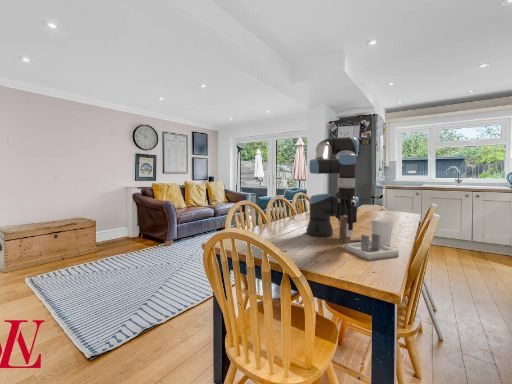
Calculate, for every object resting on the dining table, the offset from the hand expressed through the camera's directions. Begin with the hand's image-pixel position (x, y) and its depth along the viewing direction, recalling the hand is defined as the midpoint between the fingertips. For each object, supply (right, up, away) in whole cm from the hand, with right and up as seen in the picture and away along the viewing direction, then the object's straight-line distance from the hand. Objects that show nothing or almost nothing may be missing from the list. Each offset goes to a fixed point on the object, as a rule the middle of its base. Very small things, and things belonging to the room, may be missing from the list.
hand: (345, 234), depth 126 cm
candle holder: (+20, -6, +6) cm, 21 cm away
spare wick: (+8, -6, +7) cm, 12 cm away
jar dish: (+8, -6, -9) cm, 14 cm away
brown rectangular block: (0, -3, 0) cm, 3 cm away
